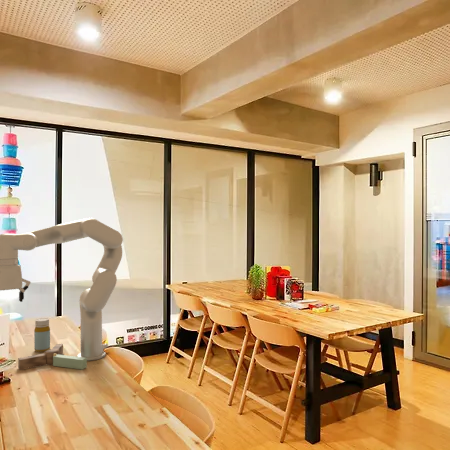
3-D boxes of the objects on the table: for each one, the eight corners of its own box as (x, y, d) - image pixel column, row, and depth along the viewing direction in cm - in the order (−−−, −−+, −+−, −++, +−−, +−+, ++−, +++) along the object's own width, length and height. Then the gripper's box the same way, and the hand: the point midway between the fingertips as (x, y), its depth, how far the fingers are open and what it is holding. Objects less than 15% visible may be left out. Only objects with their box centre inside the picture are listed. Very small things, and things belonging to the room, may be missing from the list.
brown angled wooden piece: (58, 352, 199) (58, 341, 199) (76, 355, 194) (76, 344, 194) (15, 369, 176) (15, 357, 176) (34, 372, 172) (34, 360, 172)
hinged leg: (51, 365, 179) (51, 354, 179) (56, 363, 182) (56, 352, 182) (82, 369, 174) (82, 358, 174) (86, 367, 177) (86, 356, 177)
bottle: (45, 347, 207) (45, 317, 207) (52, 349, 202) (52, 319, 202) (31, 350, 202) (31, 319, 201) (38, 353, 197) (38, 322, 197)
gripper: (-14, 264, 168) (-14, 306, 168) (32, 262, 178) (32, 301, 178) (-17, 263, 174) (-17, 303, 174) (28, 260, 184) (28, 299, 184)
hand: (8, 302), depth 176 cm, fingers open, 9 cm apart
